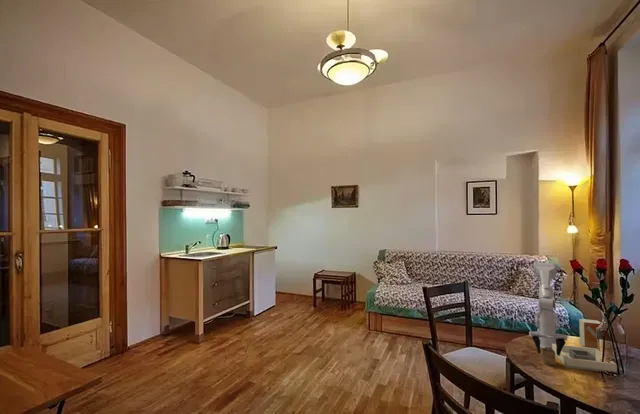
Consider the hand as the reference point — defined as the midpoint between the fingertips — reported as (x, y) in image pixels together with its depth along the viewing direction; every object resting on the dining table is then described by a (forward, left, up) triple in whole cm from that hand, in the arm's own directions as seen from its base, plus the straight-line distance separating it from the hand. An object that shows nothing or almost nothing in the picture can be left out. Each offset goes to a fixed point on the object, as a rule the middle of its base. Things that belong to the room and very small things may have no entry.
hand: (548, 353), depth 147 cm
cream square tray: (-6, +15, -4) cm, 17 cm away
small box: (-30, +28, -4) cm, 41 cm away
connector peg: (0, 0, -4) cm, 4 cm away
